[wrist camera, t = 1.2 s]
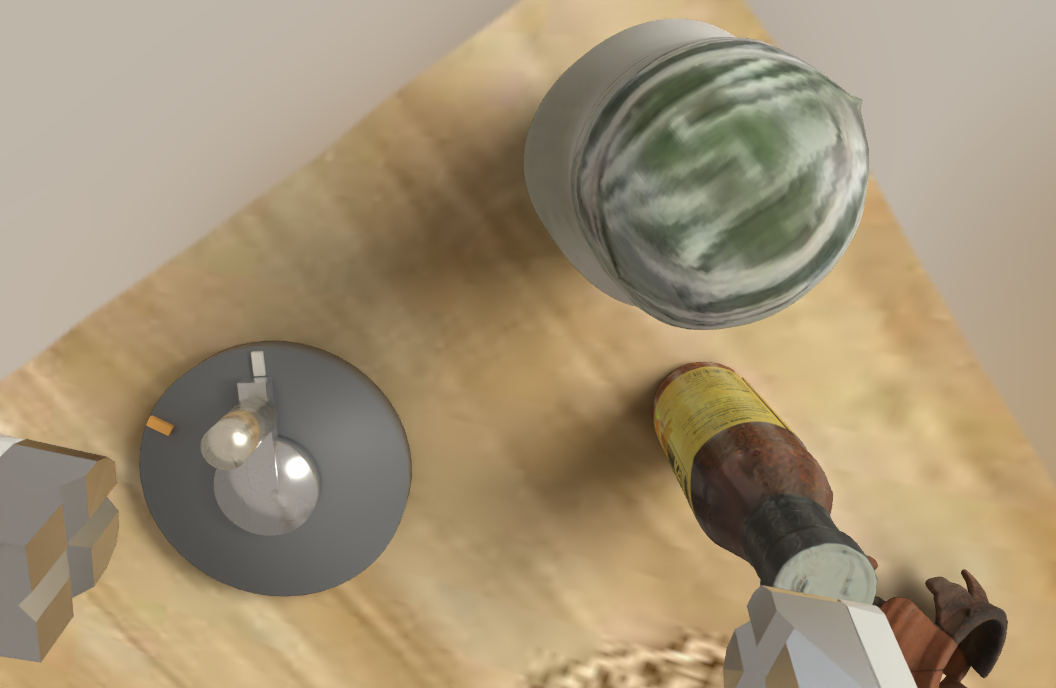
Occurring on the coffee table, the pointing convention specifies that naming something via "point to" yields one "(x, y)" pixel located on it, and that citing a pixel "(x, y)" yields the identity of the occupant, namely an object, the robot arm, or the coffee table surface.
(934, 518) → the coffee table surface
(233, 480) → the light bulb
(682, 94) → the grey bottle
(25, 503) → the robot arm
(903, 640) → the pottery mug
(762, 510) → the sauce bottle
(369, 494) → the dial plate
